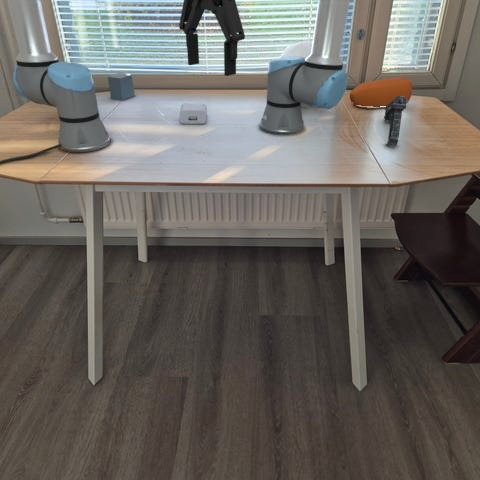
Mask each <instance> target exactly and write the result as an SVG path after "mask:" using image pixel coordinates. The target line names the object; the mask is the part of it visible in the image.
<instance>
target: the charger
mask: <svg viewBox="0 0 480 480" xmlns="http://www.w3.org/2000/svg"><path fill="white" fill-rule="evenodd" d="M207 114H208V111H207V104H206V103H204V102H202V103H201V102H190V103H189V102H184V103H182V104H181V106H180V110H179V123H181V124H184V125H186V124H187V125H194V124H195V125H199V124H200V125H202V124H205V123H206V122H207V116H208V115H207Z"/></svg>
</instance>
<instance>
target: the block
mask: <svg viewBox="0 0 480 480" xmlns="http://www.w3.org/2000/svg"><path fill="white" fill-rule="evenodd" d="M107 81H108V89H109V93H110V99H111V100H117V101H125V100H128V99H131V98H133V97H135V96H136V95H135V88H134V80H133V74H132V73H131V74H130V73H123V72H118V73H115V74H111V75H108V76H107Z"/></svg>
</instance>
